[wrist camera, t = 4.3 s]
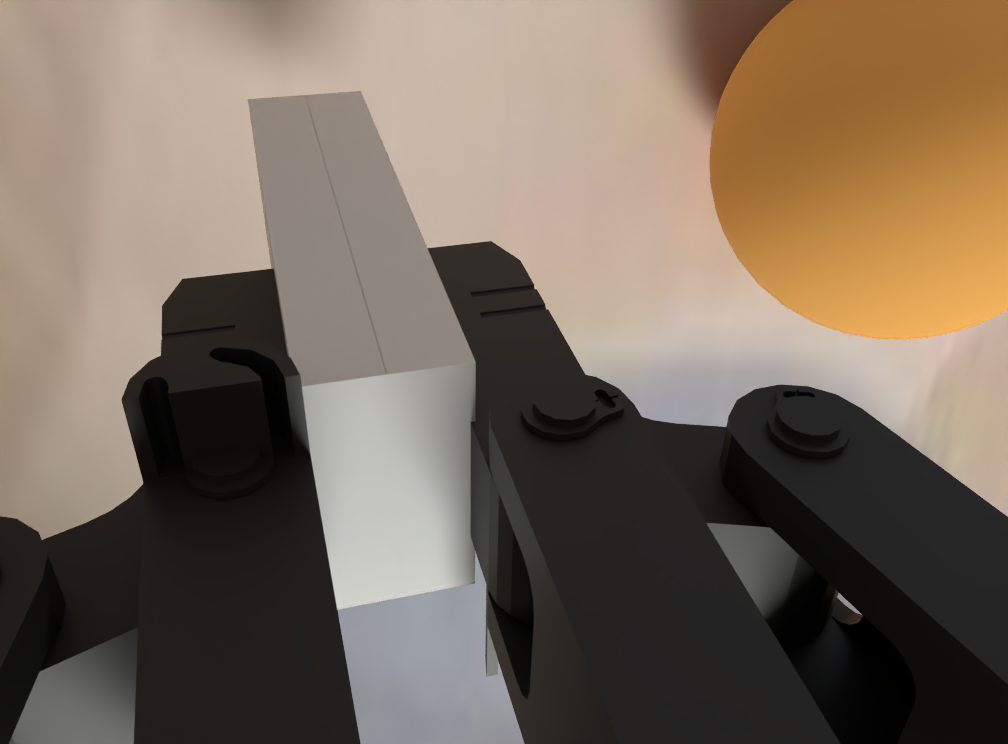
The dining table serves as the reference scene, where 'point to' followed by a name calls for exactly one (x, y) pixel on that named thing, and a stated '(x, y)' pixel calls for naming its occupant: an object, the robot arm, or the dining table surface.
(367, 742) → the dining table surface
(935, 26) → the ball
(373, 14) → the dining table surface
